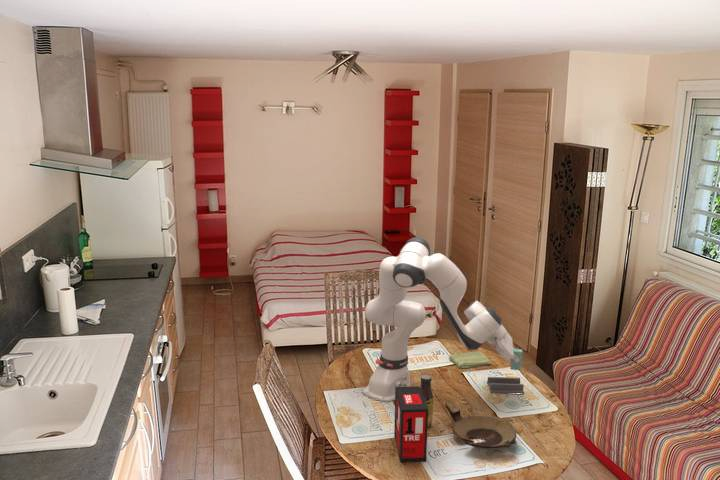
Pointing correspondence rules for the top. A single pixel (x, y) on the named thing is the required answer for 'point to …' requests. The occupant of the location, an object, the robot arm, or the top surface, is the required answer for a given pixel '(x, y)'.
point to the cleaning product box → (410, 424)
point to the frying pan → (482, 430)
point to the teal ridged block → (518, 364)
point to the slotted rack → (505, 385)
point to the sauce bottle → (427, 396)
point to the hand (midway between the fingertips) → (517, 358)
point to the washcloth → (469, 360)
